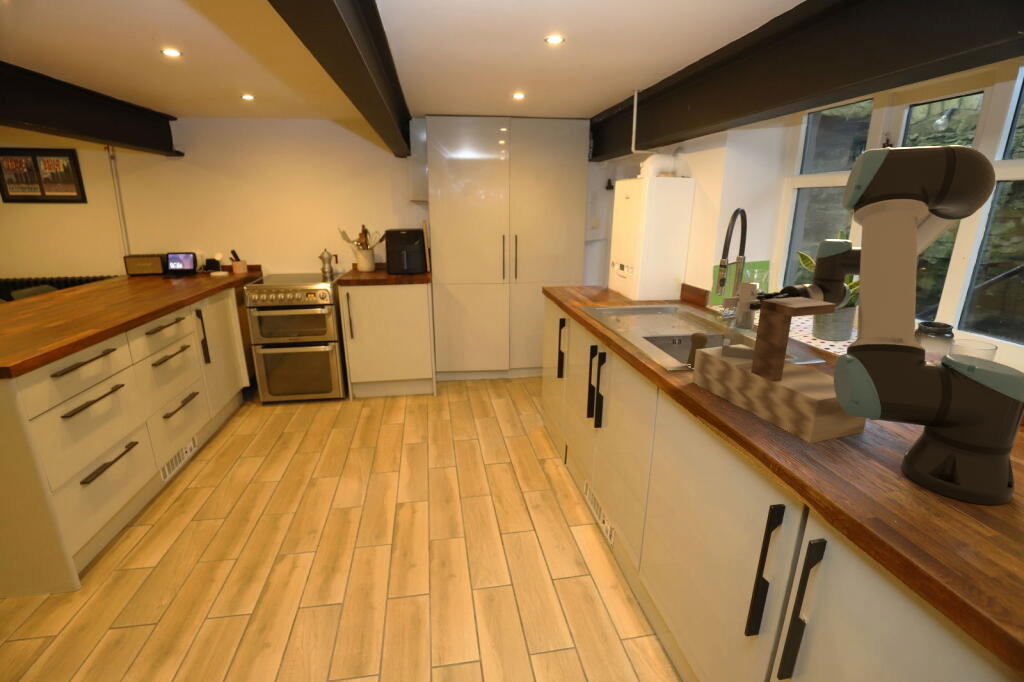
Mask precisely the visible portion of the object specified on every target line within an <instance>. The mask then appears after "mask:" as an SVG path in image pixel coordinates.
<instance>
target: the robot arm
mask: <svg viewBox="0 0 1024 682" xmlns="http://www.w3.org/2000/svg"><path fill="white" fill-rule="evenodd" d="M995 185H996V171H995V169H994V165H993V164H992V162H991V161H990V159H989V158H988V157H987V156H986V155H985V154H983V153H982V152H980V151H979V150H977V149H975V148H972V147H969V146H966V145H965V146H964V145H959V144H958V145H957V144H952V145H943V146H942V145H935V146H932V145H931V146H911V147H890V146H887V147H884V148H869V149H867V150H865V151H863V152H862V153H861V154H860V155H858V157H857V159H856V161H855V162H854V164H853V166H852V169H851V170H850V172H849V176H848V178H847V182H846V185H845V187H844V193H843V196H842V206H843V208H844V209H846V210H848V211H851V210H852V211H853V214H852V215H853V216H852V218H853V221H854V222H855V223H856V224H858V225H859V226H861V243H860V246H853V242H852V240H849V239H834V238H833V239H829V238H828V239H823V240H821V241H820V243H819V244H818V250H817V253H816V256H815V265H814V271H813V277H812V281H811V283H807V284H806V283H805V284H804V283H803V284H795V285H788V286H787V285H786V286H784V287H783V288H781V290H780V291H774V292H765V291H758V295H757V300H748V301H738V297H739V293H738V294H737V296H728V297H723V298H722V305H721V308H723V309H729V308H736V313H737V312H747V311H755V312H756V311H760V308H761V302H762V300H769V299H781V298H793V297H804V298H809V299H814V300H819V301H824V302H829V303H834V304H836V307H835V309H839V308H842V307H844V306H846V305H847V304H848V303H849V301H851V296H852V293H851V290H850V289H851V288H850V287H849V285H847V284H846V283H845V281H846V278H847V277H846V276H859V287H858V288H859V289H858V304H857V305H858V307H857V309H858V310H857V328H856V329H857V330H856V339H855V340H854V341H853V342H851V343H850V344H849V345H848V346H847V347H846V353H843V354H840V355H839V356H838V357H837V358H836V360H835V363H834V370H833V377H834V388H835V393H836V397H837V400H838V403H839V405H840V406H841V408H842V409H843V410H844V411H845V412H846V413H847V414H849V415H852V416H856V417H862V418H866V419H868V420H869V421H886V422H891V423H899V424H909V425H914V426H915V425H916V426H923V430H922V433H921V434H920V436H919V437H918V438H917V439H916V440H915V442H914V443H913V444H912V445H911V446H910V448H909V450H908V451H907V452H906V453H905V454H904V455H903V459H902V462H901V470H902V472H903V473H904V474H905V475H906V476H907V477H908V478H909V479H910V480H912V481H914V482H915V483H917V484H918V485H920V486H922V487H925V488H926V489H928V490H930V491H933V492H935V493H937V494H941V496H942V495H943V496H945V497H949V498H951V499H952V498H953V499H955V500H958V501H962V502H966V503H973V504H979V505H988V506H996V505H997V506H999V505H1000V506H1001V505H1004V504H1007V503H1010V501H1011V500H1012V498H1013V495H1014V492H1015V490H1016V489H1015V488H1016V487H1015V481H1014V480H1015V479H1014V474H1013V467H1012V460H1011V453H1012V450H1013V447H1014V445H1015V441H1016V438H1017V436H1018V432H1019V429H1020V426H1021V423H1022V421H1023V417H1024V372H1022V371H1021V370H1019V369H1016V368H1014V367H1011V366H1009V365H1006V364H1004V363H1003V364H1002V363H1000V362H996V361H993V360H989V359H985V358H981V357H977V356H972V355H966V354H960V353H945V354H944V355H943V356H942V358H940V362H933V361H931V362H930V361H926V348H924V347H923V346H922V345H921V344H919V343H918V342H917V341H916V335H915V334H916V333H915V331H916V302H917V299H916V297H917V295H916V293H917V268H918V266H919V260H920V257H919V255H920V254H922V253H923V252H924V251H925V250H926V249H927V248H928V247H930V245H932V244H933V243H934V242H935V241H936V240H938V239H939V238H940V237H941V236H942V235H944V234H945V232H946V231H948V229H950V228H951V227H952V226H953V225H954V224H955V223H957V222H958V221H960V220H963V219H966V218H969V217H971V216H972V215H974V214H975V213H976V212H977V211H979V210H980V209H981V208H982V207H983V206H984V205H985V204H986V203H987V201H988V200H989V199H990V197H991V196H992V194H993V191H994V188H995Z"/></svg>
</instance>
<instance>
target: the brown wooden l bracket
mask: <svg viewBox="0 0 1024 682" xmlns="http://www.w3.org/2000/svg"><path fill="white" fill-rule="evenodd" d="M835 307H836V304H834V303H829V302H824V301H819V300H814V299H809V298H804V297H793V298H781V299H769V300H762V302H761V308H760V309H759V318H758V323H757V329H756V330H757V331H756V336H755V344H754V348H753V349H754V356H753V363H752V370H751V373H753V374H756V375H758V376H761V377H763V378H765V379H768V380H770V381H773V382H774V381H780V380H781V379H782V373H783V367H784V361H785V360H786V354H787V350H788V342H789V335H790V330H791V329H790V328H791V325H792V319H793V318H794V317H803V316H805V317H806V316H816V315H824V314H825V315H826V314H834V313H835V311H836V308H835Z"/></svg>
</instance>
